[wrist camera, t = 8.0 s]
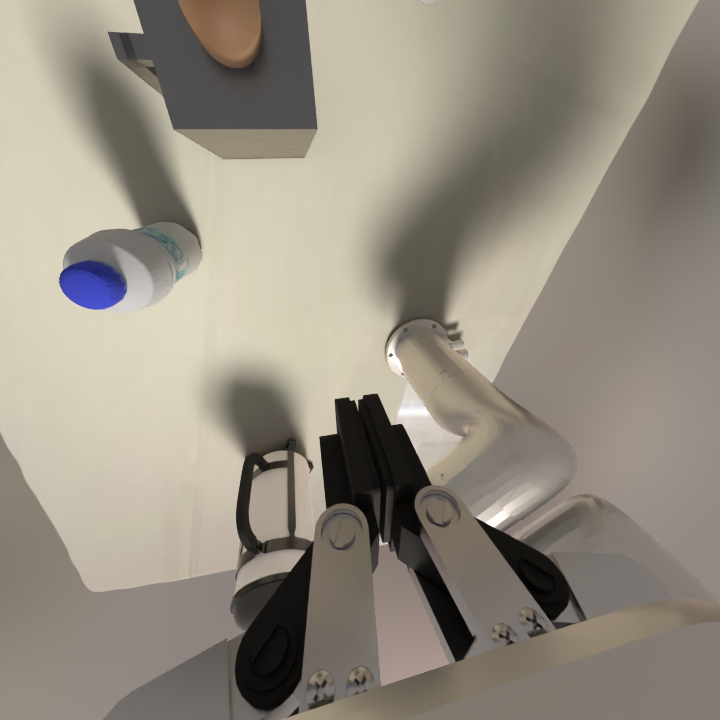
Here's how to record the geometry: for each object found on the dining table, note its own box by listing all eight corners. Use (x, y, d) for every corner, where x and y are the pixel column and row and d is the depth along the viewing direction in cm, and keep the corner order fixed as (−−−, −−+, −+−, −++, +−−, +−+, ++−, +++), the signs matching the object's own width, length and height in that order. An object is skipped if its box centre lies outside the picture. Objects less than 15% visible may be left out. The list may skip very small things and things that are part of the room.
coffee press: (328, 442, 60) (357, 615, 35) (297, 487, 66) (303, 664, 41) (250, 423, 53) (218, 626, 28) (222, 475, 58) (175, 685, 33)
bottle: (147, 264, 36) (27, 323, 19) (148, 209, 33) (7, 223, 16) (204, 279, 38) (141, 343, 22) (209, 229, 35) (141, 259, 19)
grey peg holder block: (291, 45, 29) (295, -102, 15) (304, 157, 34) (317, 129, 20) (161, 38, 27) (18, -142, 12) (196, 159, 32) (122, 129, 17)
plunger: (281, 55, 28) (275, -122, 12) (293, 143, 32) (300, 92, 16) (207, 52, 27) (97, -151, 11) (228, 144, 30) (168, 89, 15)
